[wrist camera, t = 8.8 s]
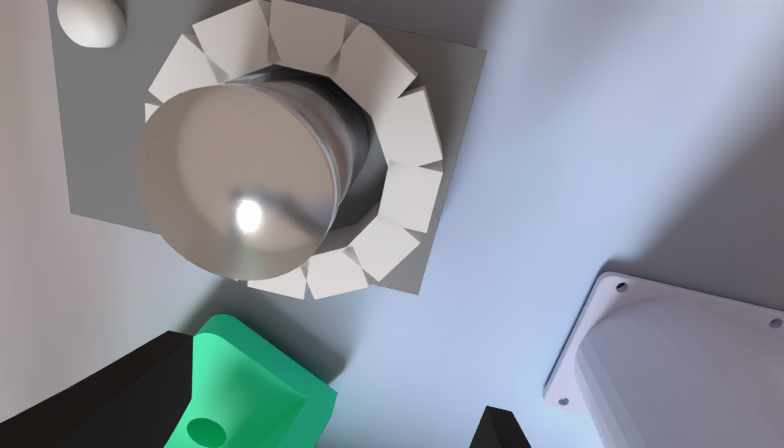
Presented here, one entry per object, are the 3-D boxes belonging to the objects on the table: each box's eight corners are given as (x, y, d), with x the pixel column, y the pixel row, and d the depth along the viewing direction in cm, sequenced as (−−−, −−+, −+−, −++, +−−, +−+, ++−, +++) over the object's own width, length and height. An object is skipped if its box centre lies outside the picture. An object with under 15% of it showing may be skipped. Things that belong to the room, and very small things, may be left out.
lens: (387, 96, 13) (354, 125, 8) (354, 211, 15) (309, 303, 9) (263, 55, 13) (139, 56, 8) (243, 176, 15) (130, 248, 9)
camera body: (476, 51, 16) (496, 49, 11) (420, 254, 19) (415, 326, 14) (121, -32, 16) (-26, -72, 11) (131, 186, 19) (23, 233, 14)
